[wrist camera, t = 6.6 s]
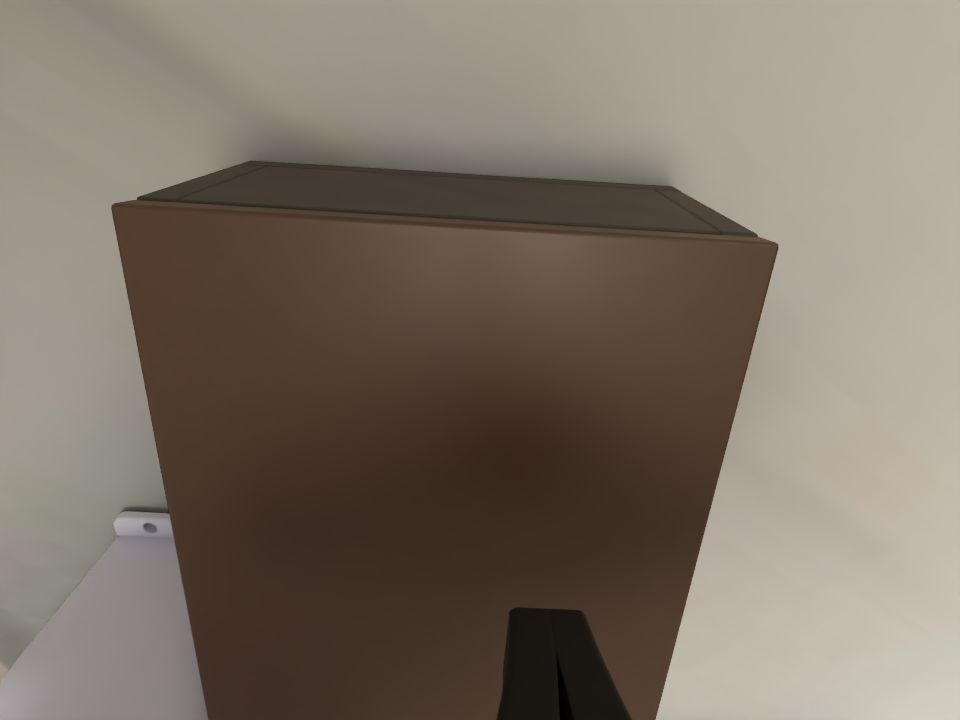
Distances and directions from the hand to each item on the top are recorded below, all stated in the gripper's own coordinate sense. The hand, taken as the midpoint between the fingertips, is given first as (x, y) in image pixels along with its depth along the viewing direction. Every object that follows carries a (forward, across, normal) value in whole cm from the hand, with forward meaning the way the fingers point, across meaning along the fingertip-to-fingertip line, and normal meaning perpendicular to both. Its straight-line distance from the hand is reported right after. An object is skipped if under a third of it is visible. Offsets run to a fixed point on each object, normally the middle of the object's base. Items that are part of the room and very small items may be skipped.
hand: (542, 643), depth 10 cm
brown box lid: (+4, +2, 0) cm, 4 cm away
